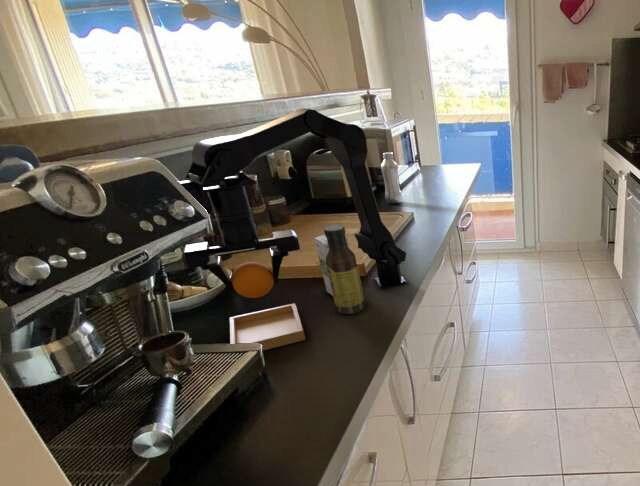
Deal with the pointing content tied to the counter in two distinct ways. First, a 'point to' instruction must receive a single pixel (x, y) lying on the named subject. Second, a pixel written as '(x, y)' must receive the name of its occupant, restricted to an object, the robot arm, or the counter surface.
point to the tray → (268, 327)
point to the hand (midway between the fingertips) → (255, 287)
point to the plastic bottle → (391, 179)
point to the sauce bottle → (343, 272)
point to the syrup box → (324, 259)
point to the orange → (252, 279)
